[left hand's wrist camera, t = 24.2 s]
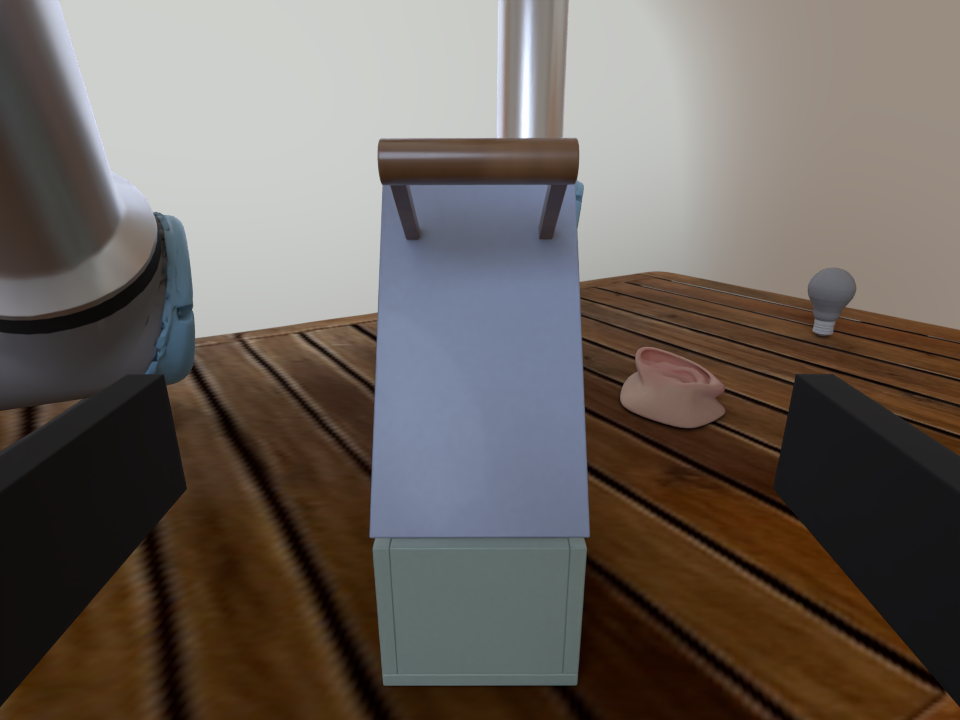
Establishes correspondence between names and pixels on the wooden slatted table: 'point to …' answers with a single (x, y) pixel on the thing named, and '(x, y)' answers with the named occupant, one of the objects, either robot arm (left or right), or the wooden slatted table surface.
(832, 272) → the light bulb
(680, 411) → the anatomical model
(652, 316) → the wooden slatted table surface
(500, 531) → the lid
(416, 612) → the chest
